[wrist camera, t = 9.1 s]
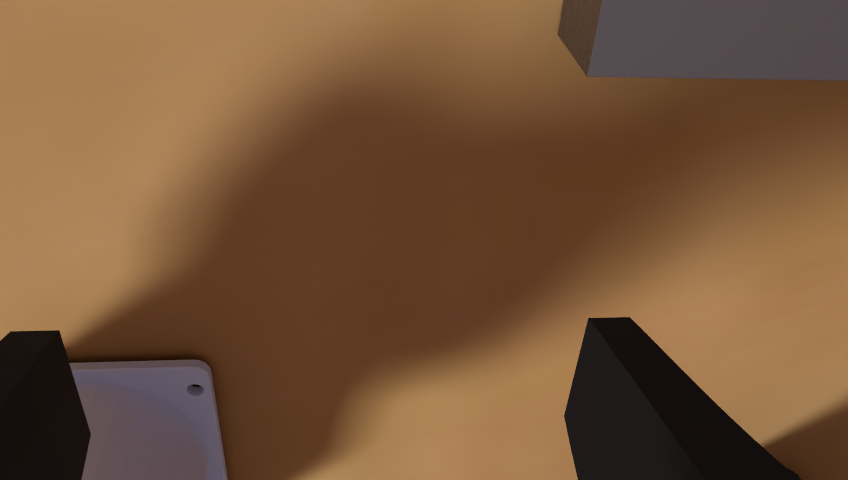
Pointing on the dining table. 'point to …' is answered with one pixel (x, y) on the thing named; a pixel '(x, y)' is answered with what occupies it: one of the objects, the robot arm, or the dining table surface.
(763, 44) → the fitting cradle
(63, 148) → the dining table surface
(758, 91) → the dining table surface
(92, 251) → the dining table surface
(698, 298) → the dining table surface
